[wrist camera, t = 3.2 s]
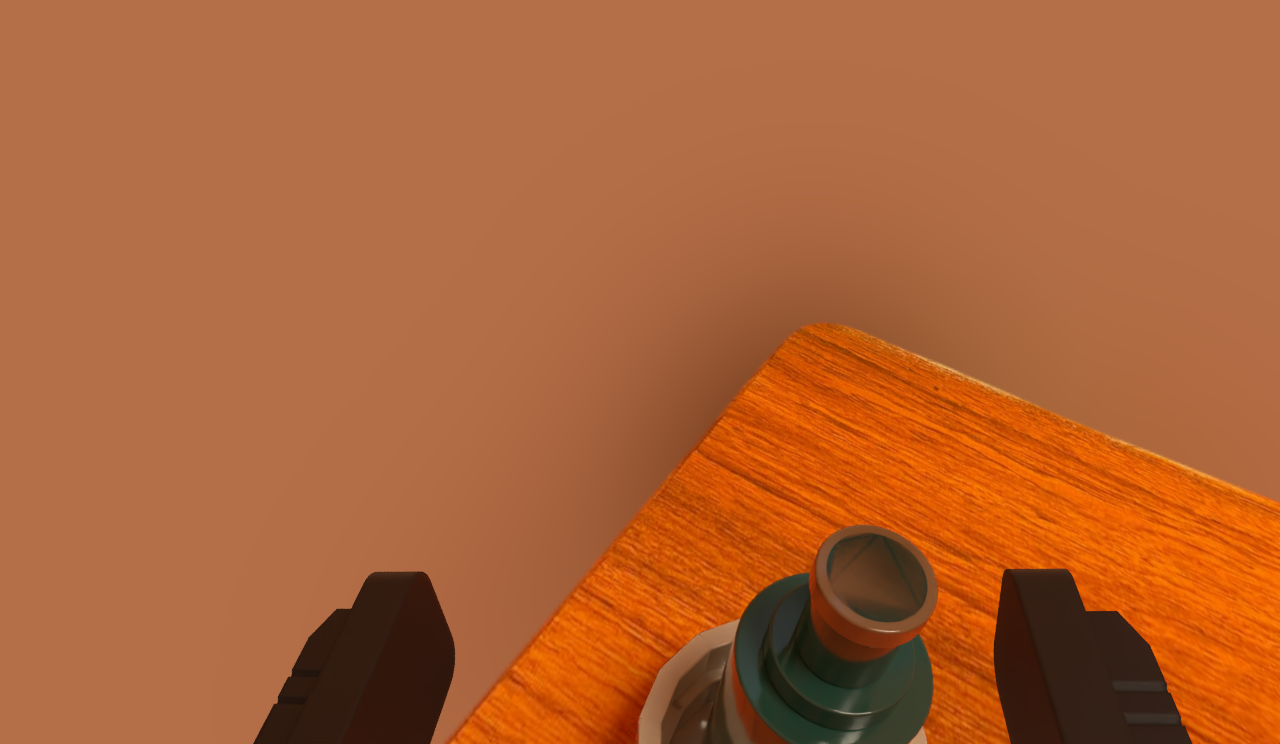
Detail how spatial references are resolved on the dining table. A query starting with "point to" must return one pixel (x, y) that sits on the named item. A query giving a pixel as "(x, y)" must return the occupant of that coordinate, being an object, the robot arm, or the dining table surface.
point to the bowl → (691, 690)
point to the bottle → (833, 650)
